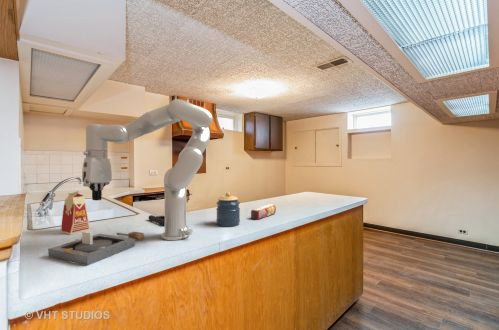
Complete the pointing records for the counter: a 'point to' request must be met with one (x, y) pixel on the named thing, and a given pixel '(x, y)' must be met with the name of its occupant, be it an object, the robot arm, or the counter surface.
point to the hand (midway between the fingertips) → (96, 199)
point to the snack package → (263, 211)
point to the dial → (91, 243)
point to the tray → (71, 255)
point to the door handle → (157, 219)
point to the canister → (228, 211)
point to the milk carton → (74, 215)
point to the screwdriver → (134, 235)
